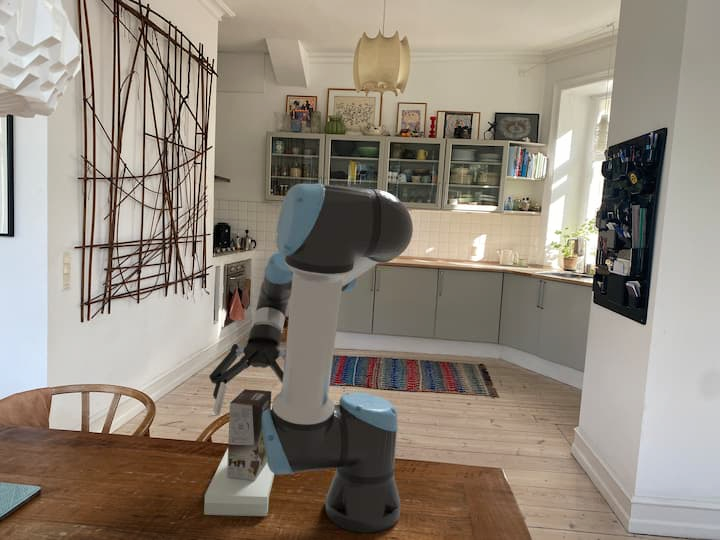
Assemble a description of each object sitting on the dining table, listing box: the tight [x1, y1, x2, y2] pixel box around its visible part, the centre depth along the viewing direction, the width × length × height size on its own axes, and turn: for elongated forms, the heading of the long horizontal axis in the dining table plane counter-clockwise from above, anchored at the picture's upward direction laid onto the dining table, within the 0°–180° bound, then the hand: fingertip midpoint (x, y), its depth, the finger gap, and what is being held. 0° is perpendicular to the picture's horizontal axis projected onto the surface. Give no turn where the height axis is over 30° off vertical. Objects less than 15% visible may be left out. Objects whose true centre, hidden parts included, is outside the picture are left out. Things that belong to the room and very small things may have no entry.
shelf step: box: [203, 448, 276, 517], centre depth 103 cm, size 12×20×4 cm, turn 3°
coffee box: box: [227, 388, 272, 481], centre depth 103 cm, size 9×6×16 cm
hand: (247, 415), depth 103 cm, fingers open, 13 cm apart
